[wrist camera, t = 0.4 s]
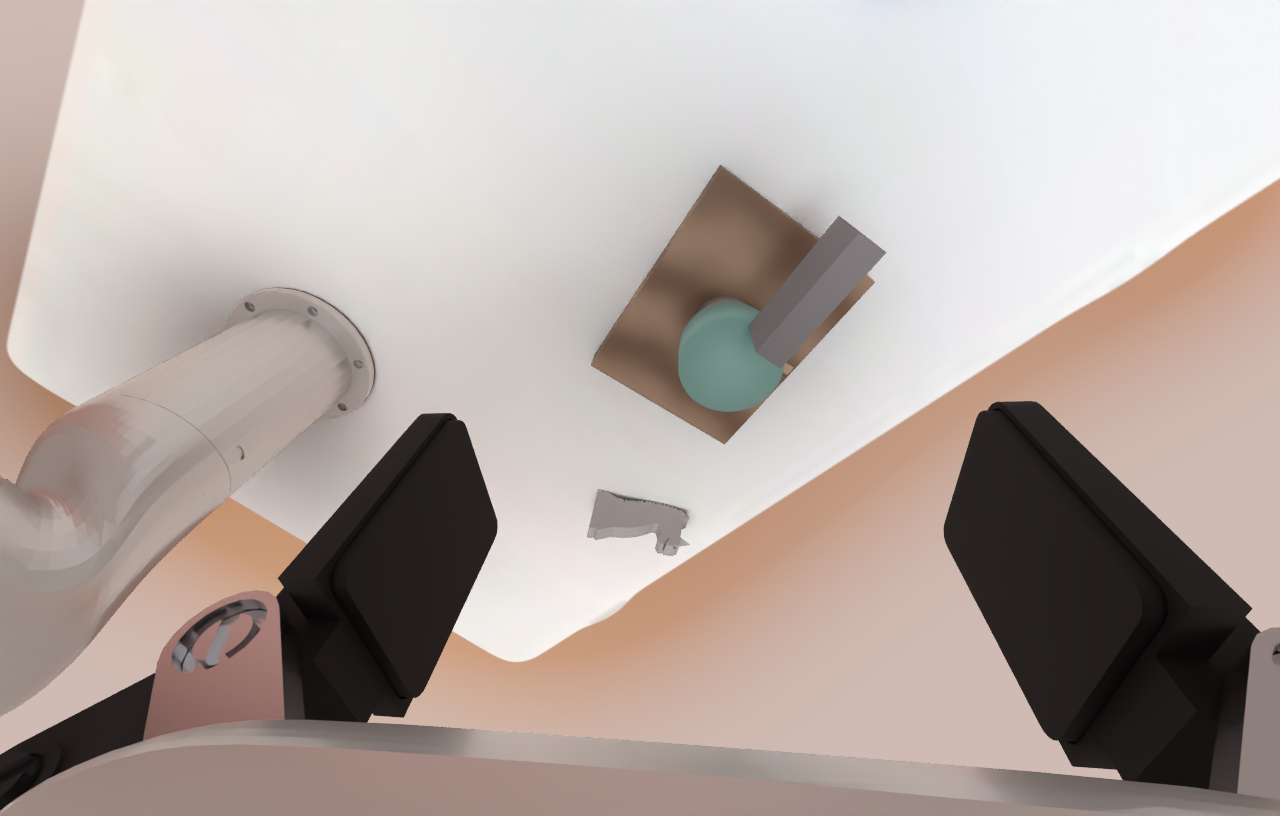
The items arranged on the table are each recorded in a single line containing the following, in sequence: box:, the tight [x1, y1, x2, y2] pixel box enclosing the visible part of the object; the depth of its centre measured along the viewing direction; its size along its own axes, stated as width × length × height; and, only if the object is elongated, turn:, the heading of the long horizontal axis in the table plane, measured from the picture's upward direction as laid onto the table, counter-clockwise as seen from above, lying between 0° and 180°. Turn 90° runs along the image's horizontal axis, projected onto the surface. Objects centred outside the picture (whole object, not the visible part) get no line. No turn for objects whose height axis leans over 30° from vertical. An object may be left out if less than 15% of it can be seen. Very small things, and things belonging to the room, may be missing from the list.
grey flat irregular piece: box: [587, 489, 690, 556], centre depth 51 cm, size 6×1×10 cm
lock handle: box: [678, 216, 886, 412], centre depth 32 cm, size 14×7×7 cm, turn 147°
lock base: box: [591, 165, 875, 444], centre depth 39 cm, size 18×14×6 cm
